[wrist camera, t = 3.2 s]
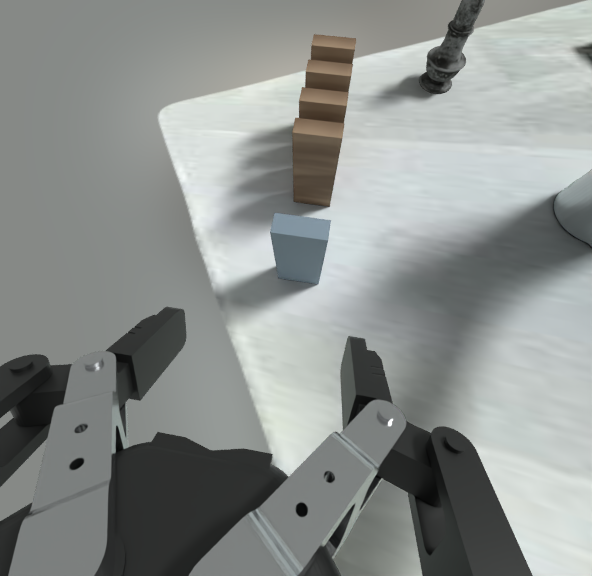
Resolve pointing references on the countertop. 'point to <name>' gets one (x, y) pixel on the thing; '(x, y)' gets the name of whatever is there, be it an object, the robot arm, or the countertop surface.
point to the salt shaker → (450, 49)
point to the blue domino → (299, 246)
